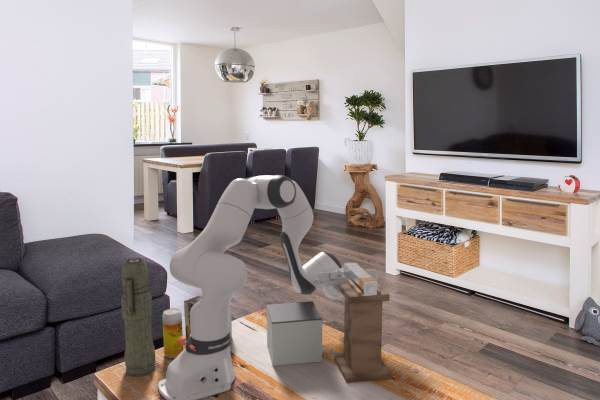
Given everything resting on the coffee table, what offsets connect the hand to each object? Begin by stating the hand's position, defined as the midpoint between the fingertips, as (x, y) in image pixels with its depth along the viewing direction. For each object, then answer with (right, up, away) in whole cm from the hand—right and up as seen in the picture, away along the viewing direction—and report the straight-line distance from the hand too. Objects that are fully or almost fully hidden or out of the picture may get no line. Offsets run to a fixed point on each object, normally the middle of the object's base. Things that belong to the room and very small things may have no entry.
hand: (352, 272), depth 152 cm
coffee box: (-51, -27, +10) cm, 59 cm away
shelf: (-19, -27, +5) cm, 34 cm away
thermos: (-67, -29, -6) cm, 73 cm away
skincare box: (-45, -26, +17) cm, 54 cm away
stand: (+2, -29, -6) cm, 30 cm away
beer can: (-59, -28, +4) cm, 65 cm away
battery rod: (+1, -3, -6) cm, 7 cm away
